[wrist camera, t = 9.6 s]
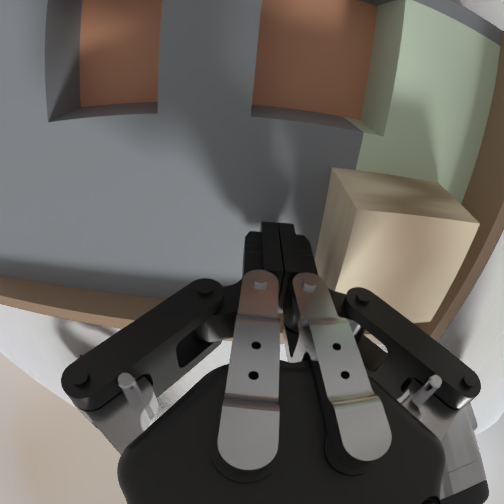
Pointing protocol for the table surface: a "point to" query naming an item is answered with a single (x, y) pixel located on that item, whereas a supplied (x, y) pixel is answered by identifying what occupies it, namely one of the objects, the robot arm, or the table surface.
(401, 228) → the maple block
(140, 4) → the board
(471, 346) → the table surface
